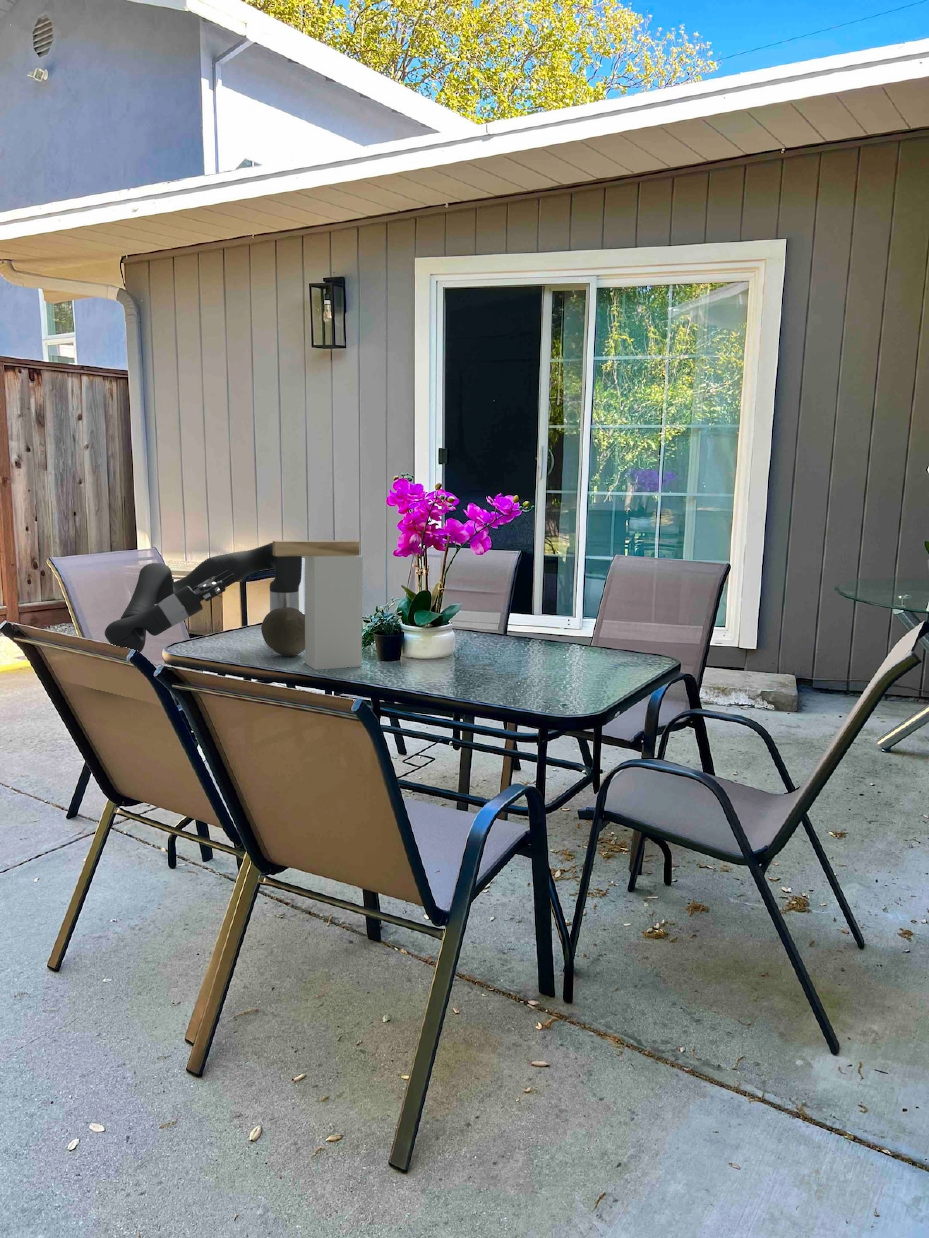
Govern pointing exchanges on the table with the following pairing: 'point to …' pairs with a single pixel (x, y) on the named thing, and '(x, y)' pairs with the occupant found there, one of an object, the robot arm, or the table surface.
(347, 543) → the oak slat
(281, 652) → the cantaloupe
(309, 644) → the pedestal
